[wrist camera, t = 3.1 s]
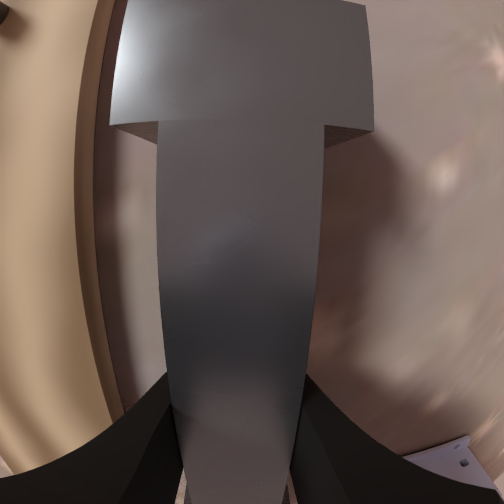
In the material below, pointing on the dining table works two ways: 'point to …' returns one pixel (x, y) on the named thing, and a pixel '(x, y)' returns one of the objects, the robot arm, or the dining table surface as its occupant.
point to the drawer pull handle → (240, 211)
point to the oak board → (50, 233)
